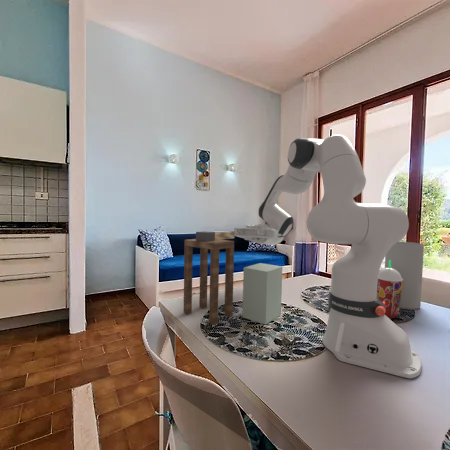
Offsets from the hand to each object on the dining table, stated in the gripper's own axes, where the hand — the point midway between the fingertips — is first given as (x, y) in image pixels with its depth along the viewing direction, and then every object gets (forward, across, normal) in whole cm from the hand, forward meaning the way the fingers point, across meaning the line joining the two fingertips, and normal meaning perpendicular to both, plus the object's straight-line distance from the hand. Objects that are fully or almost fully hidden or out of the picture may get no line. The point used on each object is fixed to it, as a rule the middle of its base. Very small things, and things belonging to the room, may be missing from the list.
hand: (246, 231), depth 108 cm
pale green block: (+8, -14, -30) cm, 34 cm away
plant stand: (+19, +1, -31) cm, 37 cm away
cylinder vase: (-38, -53, -24) cm, 69 cm away
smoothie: (-21, -49, -26) cm, 60 cm away
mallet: (+18, 0, -5) cm, 19 cm away
